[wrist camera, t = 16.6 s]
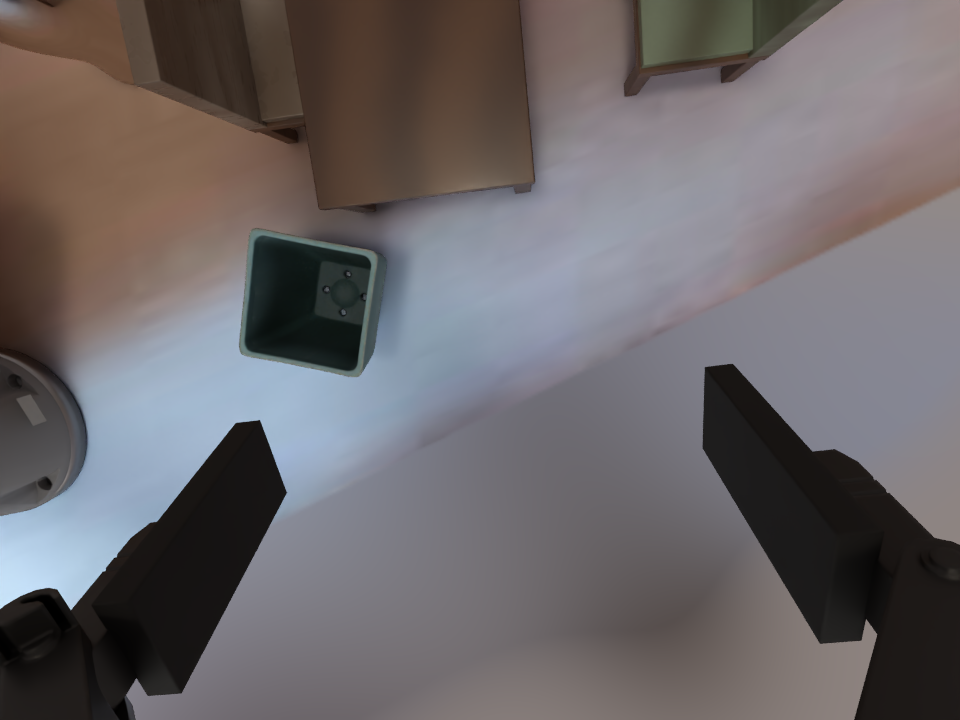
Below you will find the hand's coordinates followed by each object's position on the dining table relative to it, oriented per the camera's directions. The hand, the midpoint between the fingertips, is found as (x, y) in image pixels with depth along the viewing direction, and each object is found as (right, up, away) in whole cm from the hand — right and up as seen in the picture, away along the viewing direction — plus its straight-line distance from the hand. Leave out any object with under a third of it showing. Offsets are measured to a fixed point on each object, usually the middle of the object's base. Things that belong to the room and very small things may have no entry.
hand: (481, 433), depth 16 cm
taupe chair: (-12, +23, +26) cm, 37 cm away
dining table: (-4, +24, +25) cm, 35 cm away
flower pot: (-11, +8, +30) cm, 33 cm away
